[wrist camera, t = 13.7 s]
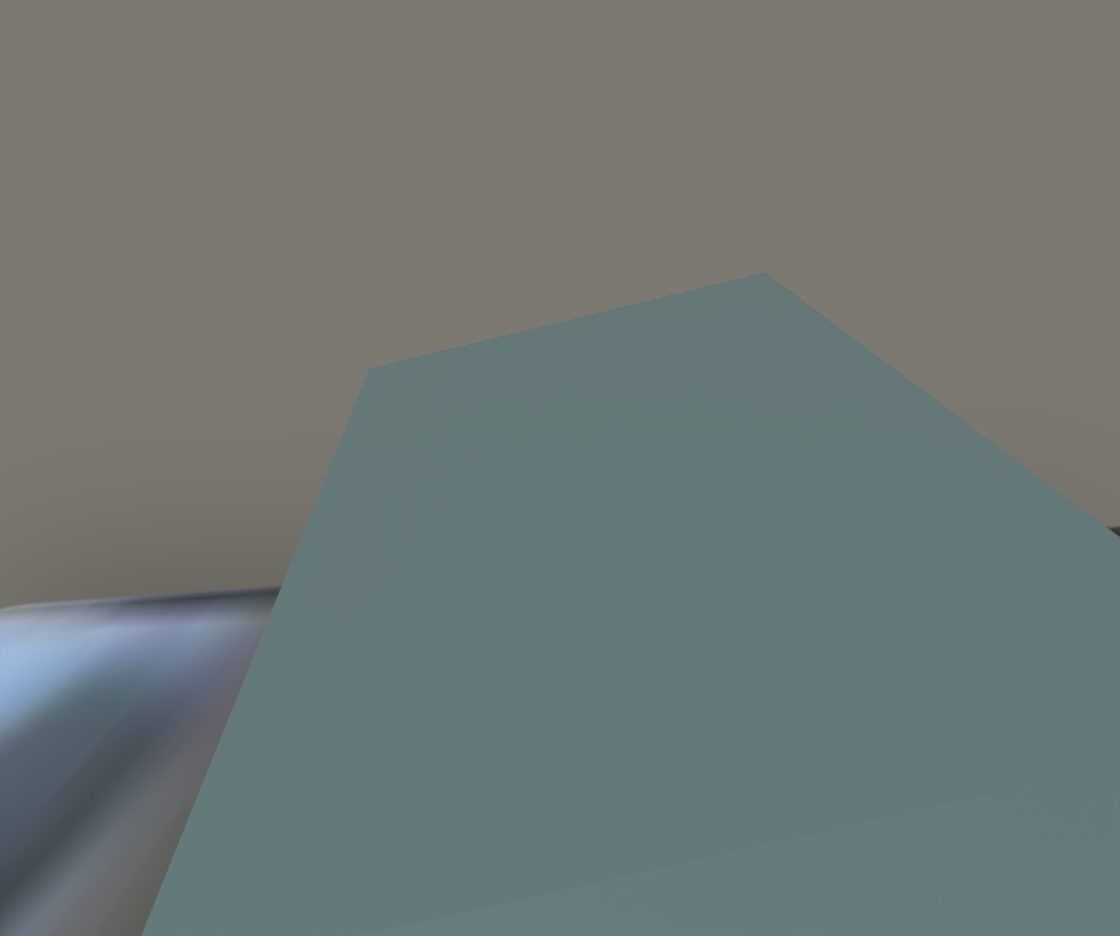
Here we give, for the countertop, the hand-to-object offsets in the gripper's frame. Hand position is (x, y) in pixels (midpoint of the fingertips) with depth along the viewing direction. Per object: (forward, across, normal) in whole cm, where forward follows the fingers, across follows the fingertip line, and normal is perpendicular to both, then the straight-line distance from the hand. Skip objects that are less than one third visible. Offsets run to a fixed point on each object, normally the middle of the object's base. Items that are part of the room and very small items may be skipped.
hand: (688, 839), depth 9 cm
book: (-1, 0, +7) cm, 7 cm away
